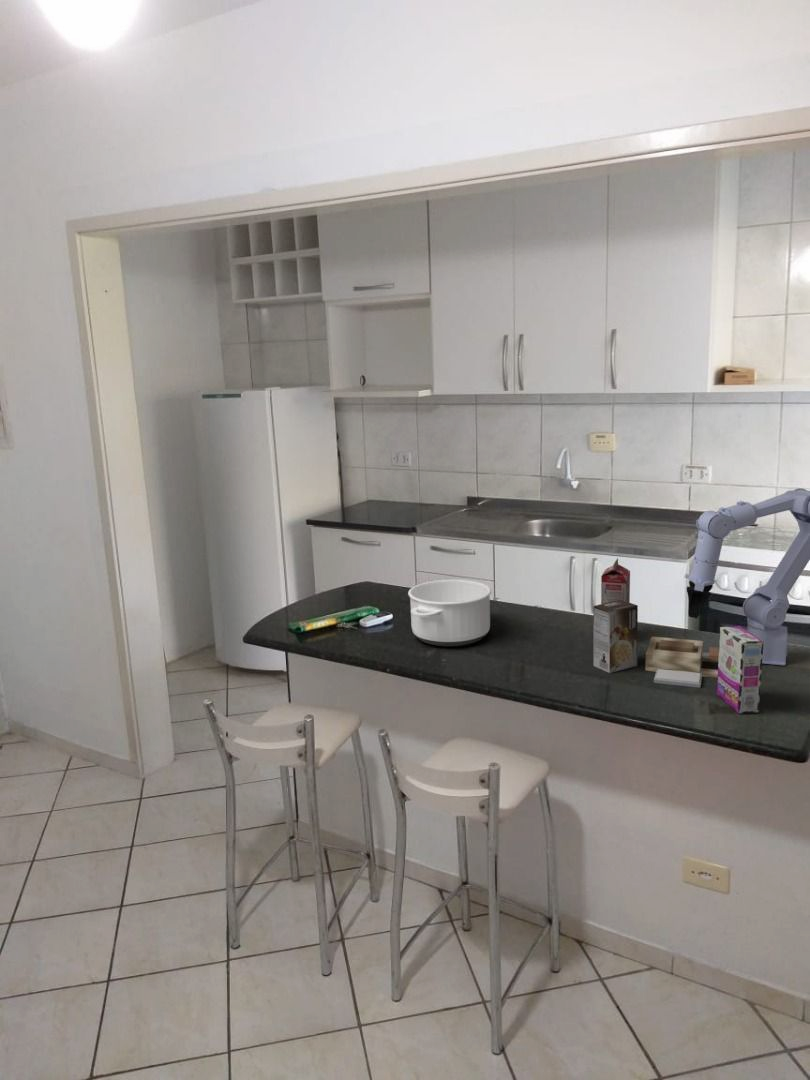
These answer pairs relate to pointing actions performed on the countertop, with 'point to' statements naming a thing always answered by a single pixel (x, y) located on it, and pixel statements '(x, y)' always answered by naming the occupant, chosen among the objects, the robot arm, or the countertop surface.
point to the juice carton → (615, 584)
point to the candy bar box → (739, 669)
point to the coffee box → (615, 635)
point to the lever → (710, 653)
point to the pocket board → (677, 658)
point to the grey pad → (678, 678)
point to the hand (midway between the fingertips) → (694, 614)
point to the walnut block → (676, 646)
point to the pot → (450, 612)
